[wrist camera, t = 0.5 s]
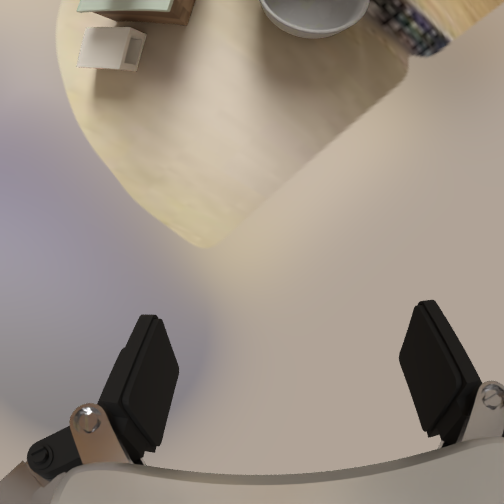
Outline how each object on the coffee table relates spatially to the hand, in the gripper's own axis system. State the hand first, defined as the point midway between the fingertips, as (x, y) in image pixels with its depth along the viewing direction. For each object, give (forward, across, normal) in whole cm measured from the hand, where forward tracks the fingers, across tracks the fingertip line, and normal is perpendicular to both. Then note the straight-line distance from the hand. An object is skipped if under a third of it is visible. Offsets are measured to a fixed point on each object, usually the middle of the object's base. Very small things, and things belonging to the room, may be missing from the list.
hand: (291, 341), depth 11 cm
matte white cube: (+28, +17, -17) cm, 38 cm away
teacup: (+29, -4, -21) cm, 36 cm away
